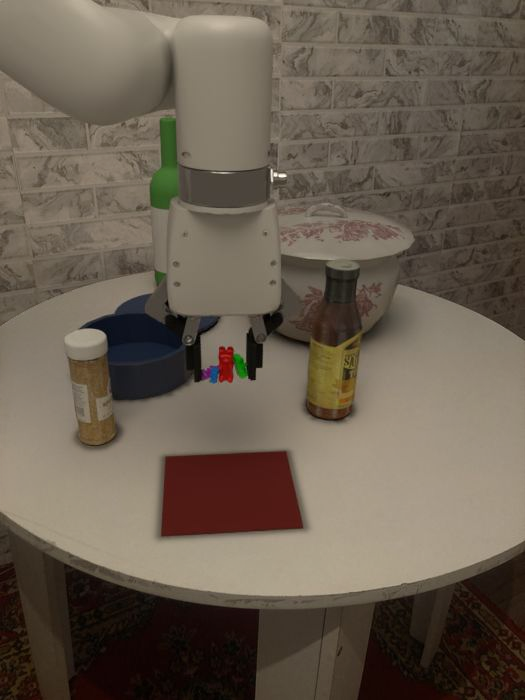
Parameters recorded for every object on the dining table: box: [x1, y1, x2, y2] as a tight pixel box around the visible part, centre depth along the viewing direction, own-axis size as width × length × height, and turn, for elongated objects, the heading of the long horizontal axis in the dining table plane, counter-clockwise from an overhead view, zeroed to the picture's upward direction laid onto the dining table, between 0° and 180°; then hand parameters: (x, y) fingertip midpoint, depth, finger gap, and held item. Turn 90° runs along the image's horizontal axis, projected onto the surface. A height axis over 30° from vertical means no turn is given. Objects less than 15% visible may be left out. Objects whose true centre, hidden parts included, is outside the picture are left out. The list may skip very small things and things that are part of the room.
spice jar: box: [63, 329, 118, 446], centre depth 69 cm, size 5×5×14 cm
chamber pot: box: [262, 202, 416, 343], centre depth 96 cm, size 28×28×21 cm
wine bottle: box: [149, 117, 179, 286], centre depth 108 cm, size 8×8×30 cm
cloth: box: [160, 450, 304, 537], centre depth 64 cm, size 14×12×1 cm
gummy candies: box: [201, 345, 248, 385], centre depth 58 cm, size 5×3×4 cm, turn 88°
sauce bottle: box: [305, 259, 363, 420], centre depth 74 cm, size 6×6×20 cm
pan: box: [77, 311, 194, 400], centre depth 85 cm, size 17×17×5 cm
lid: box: [114, 292, 220, 333], centre depth 100 cm, size 18×18×6 cm
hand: (224, 372), depth 58 cm, fingers closed on gummy candies, 4 cm apart
